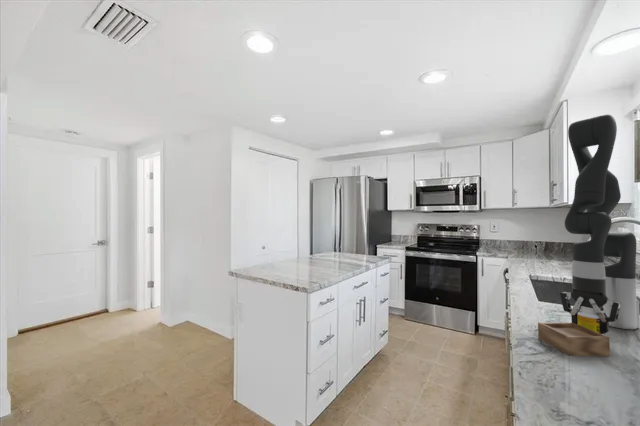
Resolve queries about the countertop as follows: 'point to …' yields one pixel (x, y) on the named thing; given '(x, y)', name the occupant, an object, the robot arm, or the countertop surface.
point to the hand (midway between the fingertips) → (589, 329)
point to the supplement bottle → (588, 319)
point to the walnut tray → (574, 339)
